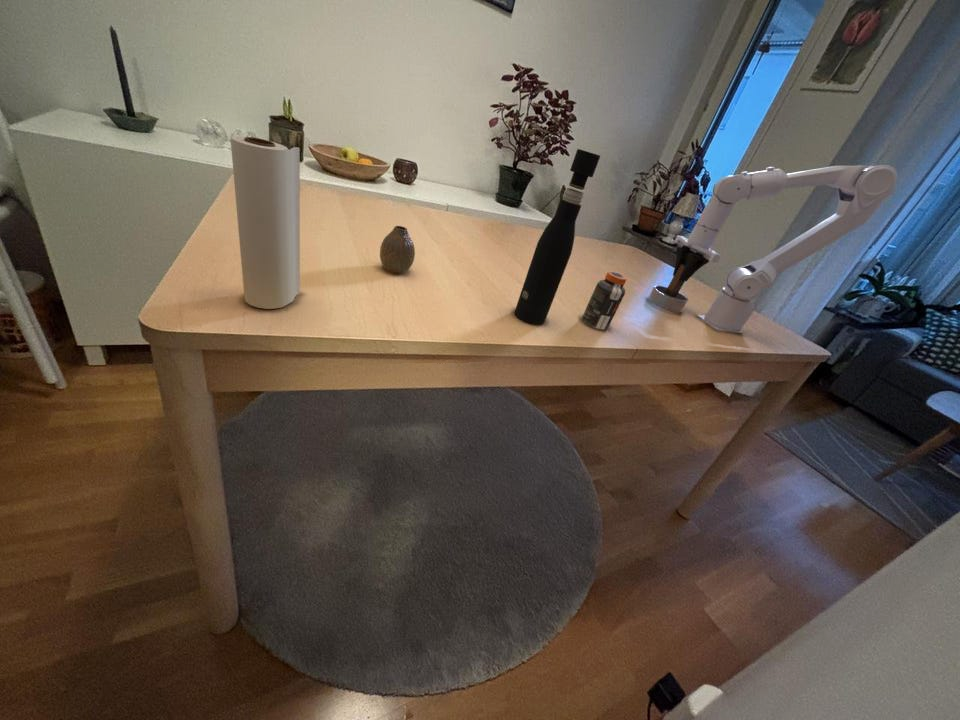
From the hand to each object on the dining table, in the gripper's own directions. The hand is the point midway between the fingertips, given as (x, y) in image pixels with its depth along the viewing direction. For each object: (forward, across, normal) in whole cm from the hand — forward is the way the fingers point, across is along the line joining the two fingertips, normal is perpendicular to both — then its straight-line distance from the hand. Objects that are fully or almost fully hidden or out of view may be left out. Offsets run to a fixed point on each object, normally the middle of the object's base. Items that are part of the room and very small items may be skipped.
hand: (679, 278), depth 101 cm
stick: (+5, 0, 0) cm, 5 cm away
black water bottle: (+8, +18, -48) cm, 52 cm away
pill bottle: (+8, +17, -32) cm, 37 cm away
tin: (+8, 0, 0) cm, 8 cm away
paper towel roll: (+8, +24, -93) cm, 96 cm away
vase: (+8, +4, -74) cm, 75 cm away
